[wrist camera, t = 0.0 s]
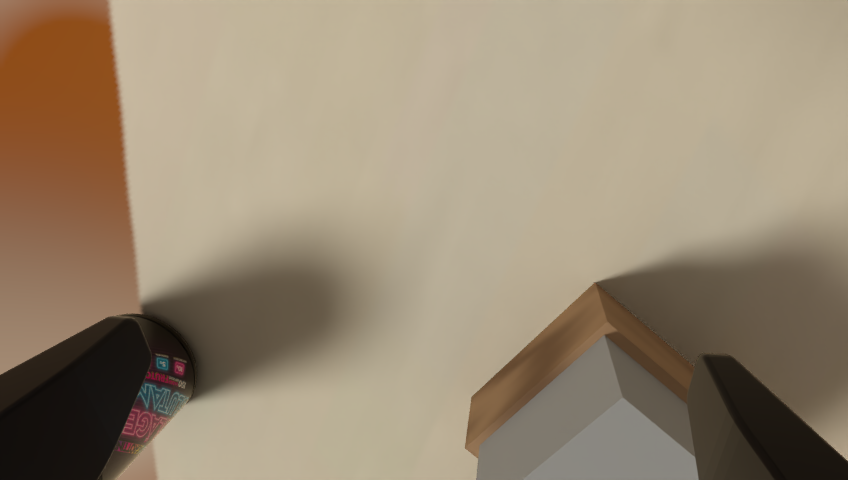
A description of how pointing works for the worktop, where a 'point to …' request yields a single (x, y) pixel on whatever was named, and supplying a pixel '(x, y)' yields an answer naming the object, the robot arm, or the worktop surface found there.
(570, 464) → the slate top block
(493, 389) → the walnut base block
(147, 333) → the supplement container
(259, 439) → the worktop surface
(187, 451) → the worktop surface
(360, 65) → the worktop surface
